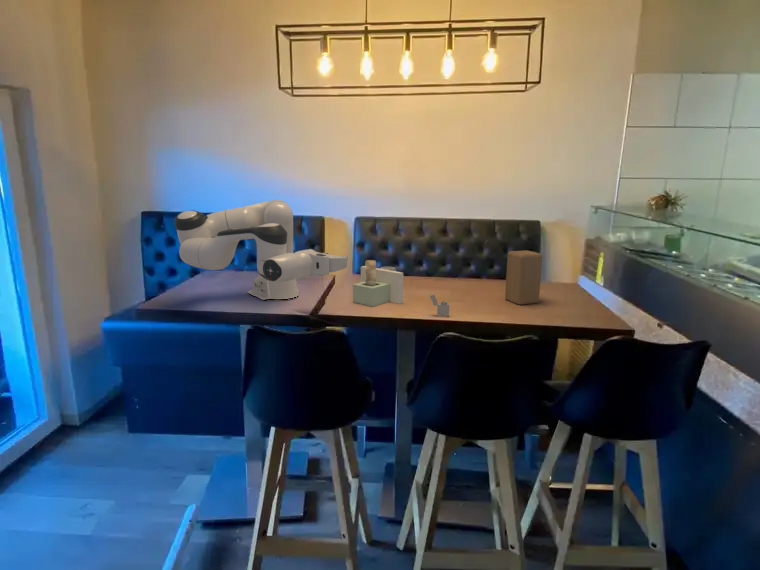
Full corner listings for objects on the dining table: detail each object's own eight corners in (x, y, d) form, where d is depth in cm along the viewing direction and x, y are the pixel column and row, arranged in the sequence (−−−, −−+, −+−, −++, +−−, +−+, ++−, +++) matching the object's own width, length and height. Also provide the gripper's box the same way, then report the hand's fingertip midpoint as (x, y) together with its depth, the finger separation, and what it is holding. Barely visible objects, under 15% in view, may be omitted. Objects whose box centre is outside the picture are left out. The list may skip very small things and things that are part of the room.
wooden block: (524, 297, 212) (527, 249, 208) (539, 303, 203) (543, 253, 199) (503, 299, 209) (507, 251, 204) (518, 305, 200) (522, 255, 195)
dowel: (363, 299, 198) (363, 261, 195) (370, 297, 201) (370, 259, 198) (371, 301, 196) (371, 262, 192) (378, 298, 199) (377, 260, 195)
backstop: (327, 307, 195) (327, 273, 192) (363, 296, 211) (364, 265, 208) (367, 317, 182) (367, 281, 179) (402, 305, 198) (403, 272, 195)
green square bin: (352, 302, 198) (352, 284, 196) (369, 297, 206) (369, 280, 204) (372, 306, 192) (372, 288, 190) (389, 301, 199) (389, 283, 198)
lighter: (448, 315, 186) (449, 294, 184) (448, 316, 184) (449, 295, 182) (429, 314, 187) (429, 293, 185) (428, 315, 185) (429, 294, 183)
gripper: (287, 267, 178) (316, 261, 189) (329, 276, 166) (357, 269, 176) (286, 249, 177) (315, 244, 187) (329, 257, 164) (357, 251, 175)
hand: (336, 256), depth 182 cm, fingers open, 8 cm apart
